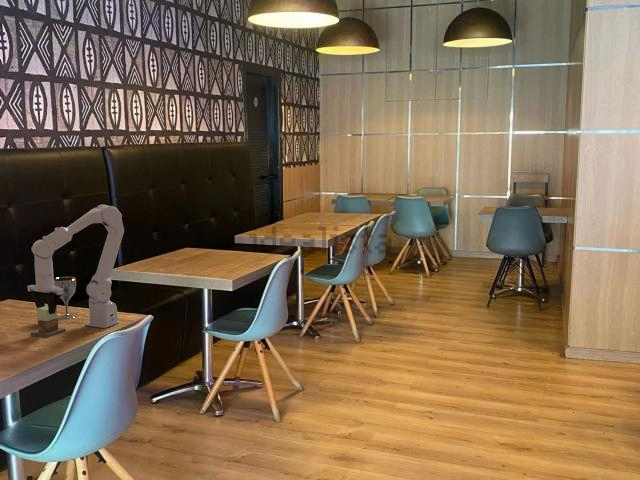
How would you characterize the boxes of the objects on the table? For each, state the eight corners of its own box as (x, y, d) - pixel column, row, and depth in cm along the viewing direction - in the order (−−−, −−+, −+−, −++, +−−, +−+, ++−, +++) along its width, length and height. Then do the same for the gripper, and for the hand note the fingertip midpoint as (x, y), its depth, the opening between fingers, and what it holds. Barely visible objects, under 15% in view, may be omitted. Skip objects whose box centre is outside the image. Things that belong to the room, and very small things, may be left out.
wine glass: (51, 319, 240) (48, 280, 237) (64, 313, 247) (61, 276, 245) (70, 320, 238) (67, 281, 236) (82, 314, 246) (80, 277, 243)
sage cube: (57, 317, 222) (56, 306, 221) (47, 321, 218) (46, 310, 217) (47, 316, 224) (46, 305, 223) (37, 319, 219) (36, 308, 219)
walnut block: (58, 329, 223) (57, 318, 222) (48, 332, 219) (47, 321, 218) (48, 327, 224) (48, 316, 224) (38, 331, 220) (37, 320, 220)
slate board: (65, 331, 224) (65, 328, 223) (47, 337, 216) (47, 334, 216) (48, 328, 227) (48, 326, 226) (30, 334, 219) (30, 332, 219)
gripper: (19, 275, 217) (22, 313, 219) (51, 278, 212) (53, 317, 214) (35, 271, 224) (38, 308, 226) (67, 274, 218) (69, 312, 220)
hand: (46, 312), depth 220 cm, fingers closed on sage cube, 4 cm apart
